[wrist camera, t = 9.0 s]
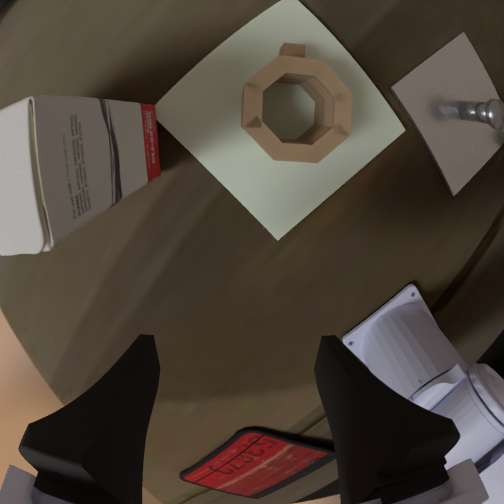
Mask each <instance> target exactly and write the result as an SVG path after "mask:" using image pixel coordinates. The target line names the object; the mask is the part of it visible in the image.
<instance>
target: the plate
mask: <svg viewBox="0 0 504 504" xmlns="http://www.w3.org/2000/svg"><path fill="white" fill-rule="evenodd" d="M388 89H389V90H390V92H391V93H392V94H393V96H394V97H395V99H396V100H397V102H398V103H399V105H400V106H401V108H402V109H403V111H404V112H405V114H406V115H407V117H408V118H409V120H410V121H411V123H412V125H413V126H414V128H415V129H416V131H417V133H418V134H419V136H420V138H421V140H422V141H423V143H424V145H425V146H426V148H427V150H428V152H429V154H430V155H431V157H432V159H433V161H434V163H435V165H436V167H437V168H438V170H439V172H440V174H441V176H442V178H443V180H444V182H445V184H446V186H447V188H448V191H449V193H450V195H452V196H455V195H456V194H457V193H458V192H459V191H460V190H461V189H462V188H463V187H464V185H465V184H466V183H467V182H468V181H469V180H470V179H471V178H472V177H473V176H474V175H475V174H476V173H477V172H478V171H479V170H480V169H481V168H482V167H483V165H484V164H485V163H486V162H487V161H488V160H489V159H490V158H491V157H492V156H493V154H494V153H495V152H496V151H497V150H498V149H499V148H500V147H501V145H502V144H503V143H504V103H503V102H502V101H501V100H500V98H499V96H498V94H497V92H496V90H495V88H494V86H493V83H492V81H491V79H490V77H489V75H488V73H487V72H486V70H485V68H484V66H483V64H482V62H481V60H480V59H479V57H478V55H477V53H476V51H475V50H474V48H473V46H472V45H471V43H470V41H469V40H468V38H467V37H466V35H465V33H464V32H461V33H459V34H458V35H456V36H455V37H453V38H452V39H451V40H449V41H448V42H447V43H445V44H444V45H443V46H441V47H440V48H439V49H437V50H436V51H435V52H433V53H432V54H431V55H429V56H428V57H427V58H425V59H424V60H423V61H421V62H420V63H419V64H418V65H416V66H415V67H414V68H412V69H411V70H410V71H409V72H407V73H406V74H405V75H403V76H402V77H401V78H400V79H398V80H397V81H396V82H395V83H393V84H392V85H391V86H389V87H388Z"/></svg>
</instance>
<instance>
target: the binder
mask: <svg viewBox="0 0 504 504" xmlns="http://www.w3.org/2000/svg"><path fill="white" fill-rule="evenodd" d="M309 443H322V442H321V441H318V440H313V439H309V438H304V437H299V436H294V435H290V434H285V433H281V432H277V431H272V430H268V429H264V428H260V427H245V428H242V429H240V430H238V431H237V432H236V433H235V434H234V435H233V436H232V437H231V438H230V439H229V440H228V441H227V442H226V443H225V444H224V445H223V446H221V447H220V448H218V449H217V450H216V451H215V452H213V453H212V454H210V455H209V456H207V457H206V458H205V459H203V460H202V461H201V462H199V463H198V464H196V465H195V466H193V467H192V468H189V469H188V468H187V469H185V470H183V471H181V472H180V476H179V477H180V479H181V480H183V481H186V482H189V483H192V484H196V485H199V486H203V487H206V488H210V489H213V490H217V491H221V492H225V493H229V494H234V495H239V496H244V497H248V498H255V499H259V498H261V497H264V496H266V495H268V494H270V493H272V492H274V491H277V490H279V489H281V488H283V487H285V486H287V485H289V484H291V483H293V482H295V481H296V480H298V479H300V478H302V477H304V476H306V475H308V474H310V473H312V472H313V471H315V470H317V469H319V468H320V467H322V466H324V465H326V464H327V463H329V462H331V461H332V460H334V459H336V454H335V448H333V449H327V448H323V447H321V446H316V445H311V444H309Z"/></svg>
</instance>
